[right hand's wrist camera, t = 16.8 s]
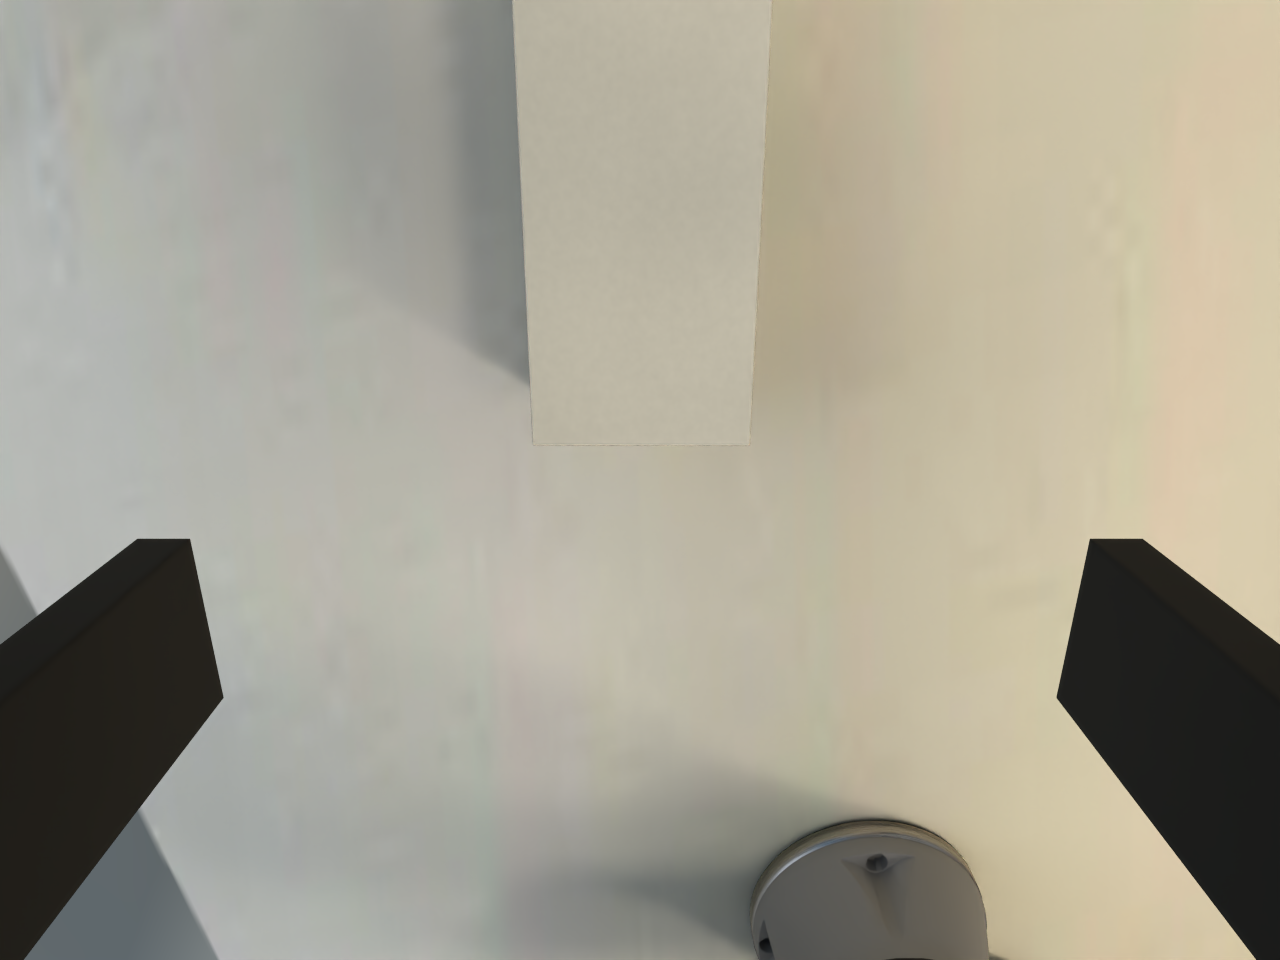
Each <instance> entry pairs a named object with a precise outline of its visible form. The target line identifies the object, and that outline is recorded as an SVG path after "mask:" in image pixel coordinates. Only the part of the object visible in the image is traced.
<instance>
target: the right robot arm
mask: <svg viewBox="0 0 1280 960" xmlns="http://www.w3.org/2000/svg"><path fill="white" fill-rule="evenodd" d="M222 699H223V693H222V688H221V684H220V679H219V674H218V669H217V665H216V660H215V655H214V650H213V646H212V641H211V636H210V631H209V627H208V622H207V617H206V612H205V608H204V603H203V598H202V594H201V589H200V584H199V579H198V575H197V570H196V565H195V560H194V556H193V551H192V546H191V541H190V539H137V540H135V541H134V542H133V543H131V544H130V545H129V546H128V547H126V548H125V549H124V550H122V551H121V552H120V553H118V554H117V555H116V556H115V557H113V558H112V559H111V560H109V561H108V562H107V563H105V564H104V565H103V566H102V567H100V568H99V569H98V570H96V571H95V572H94V573H93V574H91V575H90V576H89V577H87V578H86V579H85V580H83V581H82V582H81V583H80V584H78V585H77V586H76V587H74V588H73V589H72V590H70V591H69V592H68V593H67V594H65V595H64V596H63V597H61V598H60V599H59V600H58V601H56V602H55V603H54V604H52V605H51V606H50V607H48V608H47V609H46V610H45V611H43V612H42V613H41V614H39V615H38V616H37V617H35V618H34V619H33V620H32V621H30V622H29V623H28V624H26V625H25V626H24V627H23V628H21V629H20V630H19V631H17V632H16V633H15V634H13V635H12V636H11V637H10V638H8V639H7V640H6V641H4V642H3V643H2V644H0V960H24V959H25V957H26V956H27V955H28V953H29V952H30V951H31V949H32V948H33V947H34V945H35V944H36V943H37V942H38V940H39V939H40V938H41V936H42V935H43V934H44V932H45V931H46V930H47V928H48V927H49V926H50V924H51V923H52V922H53V921H54V919H55V918H56V917H57V915H58V914H59V913H60V911H61V910H62V909H63V907H64V906H65V905H66V904H67V902H68V901H69V900H70V898H71V897H72V896H73V894H74V893H75V892H76V890H77V889H78V888H79V886H80V885H81V884H82V883H83V881H84V880H85V879H86V877H87V876H88V875H89V873H90V872H91V871H92V869H93V868H94V867H95V866H96V864H97V863H98V862H99V860H100V859H101V858H102V856H103V855H104V854H105V852H106V851H107V850H108V848H109V847H110V846H111V845H112V843H113V842H114V841H115V839H116V838H117V837H118V835H119V834H120V833H121V831H122V830H123V829H124V827H125V826H126V825H127V824H128V822H129V821H130V820H131V818H132V817H133V816H134V814H135V813H136V812H137V810H138V809H139V808H140V806H141V805H142V804H143V803H144V801H145V800H146V799H147V797H148V796H149V795H150V793H151V792H152V791H153V789H154V788H155V787H156V786H157V784H158V783H159V782H160V780H161V779H162V778H163V776H164V775H165V774H166V772H167V771H168V770H169V768H170V767H171V766H172V765H173V763H174V762H175V761H176V759H177V758H178V757H179V755H180V754H181V753H182V751H183V750H184V749H185V747H186V746H187V745H188V744H189V742H190V741H191V740H192V738H193V737H194V736H195V734H196V733H197V732H198V730H199V729H200V728H201V726H202V725H203V724H204V723H205V721H206V720H207V719H208V717H209V716H210V715H211V713H212V712H213V711H214V709H215V708H216V707H217V706H218V704H219V703H220V702H221V700H222ZM1057 699H1058V700H1059V702H1060V703H1061V704H1062V706H1063V707H1064V708H1065V709H1066V711H1067V712H1068V713H1069V715H1070V716H1071V717H1072V719H1073V720H1074V721H1075V723H1076V724H1077V725H1078V726H1079V728H1080V729H1081V730H1082V732H1083V733H1084V734H1085V736H1086V737H1087V738H1088V740H1089V741H1090V742H1091V744H1092V745H1093V746H1094V747H1095V749H1096V750H1097V751H1098V753H1099V754H1100V755H1101V757H1102V758H1103V759H1104V761H1105V762H1106V763H1107V765H1108V766H1109V767H1110V768H1111V770H1112V771H1113V772H1114V774H1115V775H1116V776H1117V778H1118V779H1119V780H1120V782H1121V783H1122V784H1123V786H1124V787H1125V788H1126V789H1127V791H1128V792H1129V793H1130V795H1131V796H1132V797H1133V799H1134V800H1135V801H1136V803H1137V804H1138V805H1139V806H1140V808H1141V809H1142V810H1143V812H1144V813H1145V814H1146V816H1147V817H1148V818H1149V820H1150V821H1151V822H1152V824H1153V825H1154V826H1155V827H1156V829H1157V830H1158V831H1159V833H1160V834H1161V835H1162V837H1163V838H1164V839H1165V841H1166V842H1167V843H1168V845H1169V846H1170V847H1171V848H1172V850H1173V851H1174V852H1175V854H1176V855H1177V856H1178V858H1179V859H1180V860H1181V862H1182V863H1183V864H1184V866H1185V867H1186V868H1187V869H1188V871H1189V872H1190V873H1191V875H1192V876H1193V877H1194V879H1195V880H1196V881H1197V883H1198V884H1199V885H1200V886H1201V888H1202V889H1203V890H1204V892H1205V893H1206V894H1207V896H1208V897H1209V898H1210V900H1211V901H1212V902H1213V904H1214V905H1215V906H1216V907H1217V909H1218V910H1219V911H1220V913H1221V914H1222V915H1223V917H1224V918H1225V919H1226V921H1227V922H1228V923H1229V925H1230V926H1231V927H1232V928H1233V930H1234V931H1235V932H1236V934H1237V935H1238V936H1239V938H1240V939H1241V940H1242V942H1243V943H1244V944H1245V946H1246V947H1247V948H1248V949H1249V951H1250V952H1251V953H1252V955H1253V956H1254V957H1255V959H1256V960H1280V644H1278V643H1277V642H1276V641H1274V640H1273V639H1272V638H1270V637H1269V636H1268V635H1267V634H1265V633H1264V632H1263V631H1261V630H1260V629H1259V628H1258V627H1256V626H1255V625H1254V624H1252V623H1251V622H1250V621H1248V620H1247V619H1246V618H1245V617H1243V616H1242V615H1241V614H1239V613H1238V612H1237V611H1235V610H1234V609H1233V608H1232V607H1230V606H1229V605H1228V604H1226V603H1225V602H1224V601H1222V600H1221V599H1220V598H1219V597H1217V596H1216V595H1215V594H1213V593H1212V592H1211V591H1210V590H1208V589H1207V588H1206V587H1204V586H1203V585H1202V584H1200V583H1199V582H1198V581H1197V580H1195V579H1194V578H1193V577H1191V576H1190V575H1189V574H1187V573H1186V572H1185V571H1184V570H1182V569H1181V568H1180V567H1178V566H1177V565H1176V564H1174V563H1173V562H1172V561H1171V560H1169V559H1168V558H1167V557H1165V556H1164V555H1163V554H1162V553H1160V552H1159V551H1158V550H1156V549H1155V548H1154V547H1152V546H1151V545H1150V544H1149V543H1147V542H1146V541H1145V540H1143V539H1090V541H1089V546H1088V551H1087V556H1086V560H1085V565H1084V570H1083V575H1082V579H1081V584H1080V589H1079V593H1078V598H1077V603H1076V608H1075V612H1074V617H1073V622H1072V627H1071V631H1070V636H1069V641H1068V646H1067V650H1066V655H1065V660H1064V665H1063V669H1062V674H1061V679H1060V684H1059V688H1058V693H1057ZM750 923H751V930H752V937H753V942H754V947H755V950H756V952H757V956H758V959H759V960H989V951H988V940H987V931H986V930H987V921H986V913H985V908H984V905H983V901H982V896H981V894H980V891H979V888H978V886H977V884H976V881H975V879H974V877H973V875H972V873H971V871H970V869H969V867H968V865H967V863H966V862H965V861H964V859H963V858H962V857H961V855H960V854H959V853H958V852H957V851H956V850H955V849H954V848H953V847H952V846H950V845H949V844H948V843H947V842H945V841H944V840H942V839H941V838H939V837H937V836H936V835H934V834H932V833H930V832H927V831H925V830H923V829H920V828H917V827H914V826H911V825H906V824H902V823H896V822H889V821H859V822H851V823H845V824H840V825H836V826H832V827H829V828H826V829H823V830H820V831H818V832H815V833H813V834H810V835H808V836H806V837H804V838H802V839H801V840H799V841H797V842H796V843H794V844H792V845H791V846H790V847H788V848H787V849H786V850H784V851H783V852H782V853H781V854H780V855H778V856H777V857H776V858H775V859H774V860H773V861H772V862H771V863H770V865H769V866H768V867H767V868H766V870H765V871H764V872H763V874H762V875H761V877H760V879H759V880H758V882H757V885H756V887H755V889H754V892H753V895H752V899H751V904H750Z"/></svg>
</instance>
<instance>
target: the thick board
mask: <svg viewBox="0 0 1280 960" xmlns="http://www.w3.org/2000/svg"><path fill="white" fill-rule="evenodd" d="M772 4H773V0H512V15H513V36H514V58H515V79H516V101H517V122H518V144H519V165H520V187H521V208H522V230H523V251H524V273H525V294H526V315H527V337H528V358H529V380H530V401H531V423H532V444H533V445H534V446H749V445H750V436H751V416H752V397H753V377H754V357H755V338H756V318H757V299H758V279H759V259H760V240H761V220H762V200H763V181H764V161H765V142H766V122H767V102H768V83H769V63H770V43H771V24H772Z"/></svg>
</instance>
